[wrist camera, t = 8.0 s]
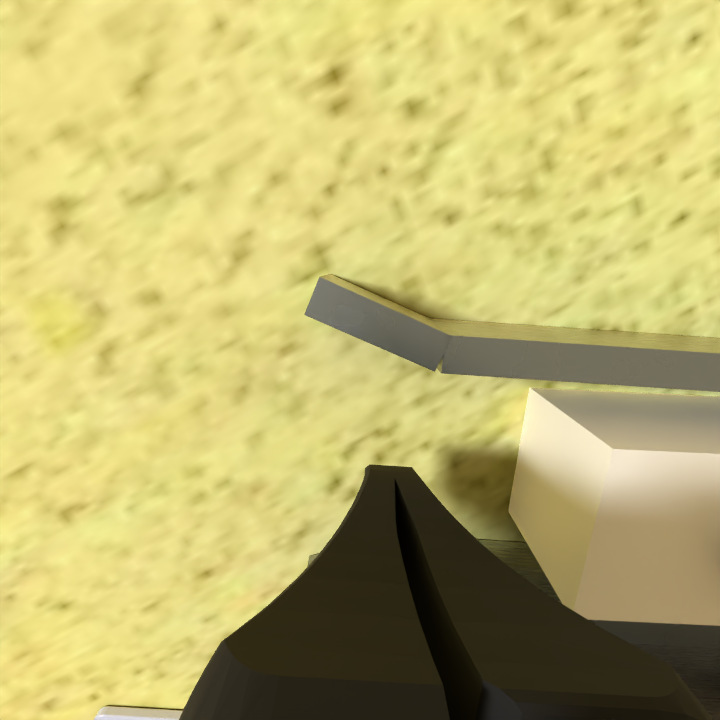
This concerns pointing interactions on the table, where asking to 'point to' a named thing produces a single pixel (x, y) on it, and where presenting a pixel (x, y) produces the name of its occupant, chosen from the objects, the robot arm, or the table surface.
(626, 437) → the block
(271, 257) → the table surface
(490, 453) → the table surface
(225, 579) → the table surface
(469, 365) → the motor bracket
